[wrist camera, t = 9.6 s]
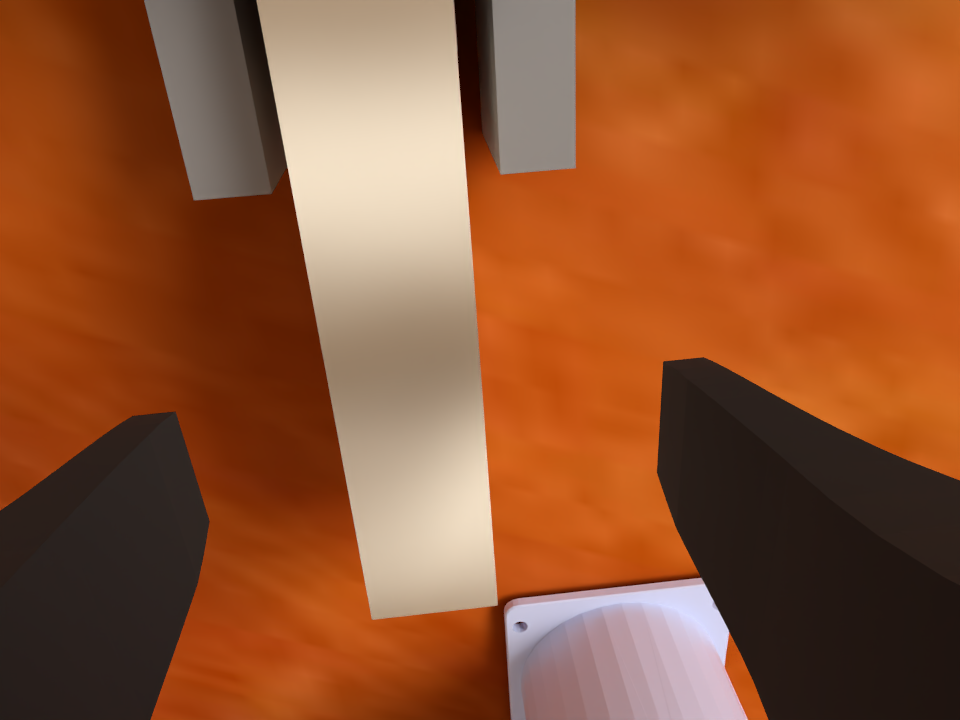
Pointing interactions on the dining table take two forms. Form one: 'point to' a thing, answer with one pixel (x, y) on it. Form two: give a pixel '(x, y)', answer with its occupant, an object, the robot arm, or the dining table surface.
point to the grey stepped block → (252, 108)
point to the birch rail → (391, 284)
